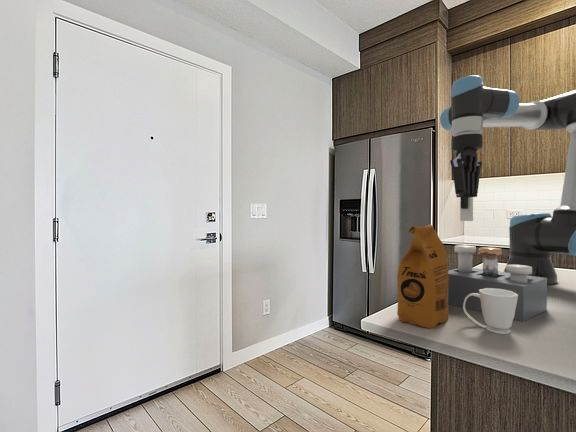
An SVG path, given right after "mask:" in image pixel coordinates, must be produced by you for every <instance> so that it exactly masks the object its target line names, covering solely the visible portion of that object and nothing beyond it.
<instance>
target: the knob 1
mask: <svg viewBox="0 0 576 432" xmlns="http://www.w3.org/2000/svg"><path fill="white" fill-rule="evenodd" d="M454 252H455V253H457V254H458V255H457V257H458V260H457V261H458V263H457V265H458V268H457V269H458V272H461V273H467V274H471V273H472V268H473V254H475V253H477V247H476V245H475V246H474V245H463V244H461V245H454Z"/></svg>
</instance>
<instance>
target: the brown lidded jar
mask: <svg viewBox="0 0 576 432" xmlns="http://www.w3.org/2000/svg"><path fill="white" fill-rule="evenodd" d="M478 254H479V255H481V256H482V269H483V276H487V277H493V278H498V271H499V257H500V256H503V248H499V247H479V248H478Z"/></svg>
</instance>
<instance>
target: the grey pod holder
mask: <svg viewBox="0 0 576 432" xmlns="http://www.w3.org/2000/svg"><path fill="white" fill-rule="evenodd" d="M448 276H449V284H448V305H449V304H450V305H453V306H459V307H462V308H463V303H464V300H465V298H466V297H467V296H468V295H469V294H471V293H478V294H479V290H480V289H485V288H494V289H503V290H508V291H513V292H514V293H516V294H518V299H517V304H516V309H515V315H514V319H513V320H515V321H520V322H525V321H528V320H529V319H531V318H533V317H536V316H538V315H539V314H541V313H543V312H546V311H547V309H548V305H547V304H548V284H547V278H542V277H535V276H528V275H527V283H525V282H519V281H512V280H510V273H506V272H504V271H499V270H498V278H493V277H487V276H483V268H478V267H477V268H476V267H472V273H471V274H467V273H461V272H458V268H453V269H448ZM466 308H467V309H470V310H474V311H479V312H482V307H481V301H480V298H479V297H476V296H469V297H468V298H467V300H466V303H465V309H466Z"/></svg>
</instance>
